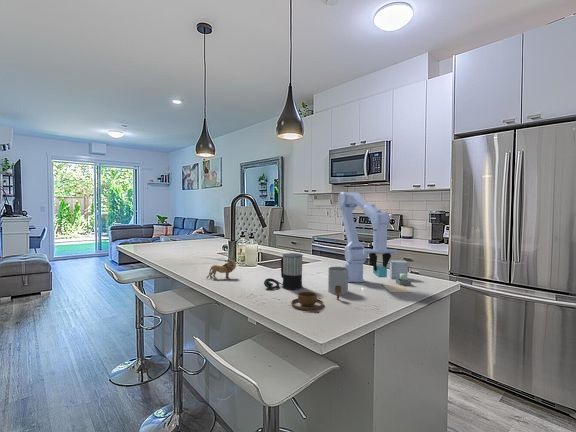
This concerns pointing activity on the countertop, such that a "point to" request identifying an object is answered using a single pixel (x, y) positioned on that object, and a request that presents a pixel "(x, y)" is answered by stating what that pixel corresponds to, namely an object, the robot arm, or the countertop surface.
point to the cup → (338, 279)
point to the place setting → (311, 300)
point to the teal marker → (380, 271)
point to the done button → (403, 277)
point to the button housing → (403, 282)
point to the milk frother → (289, 272)
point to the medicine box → (398, 269)
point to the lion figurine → (222, 269)
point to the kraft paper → (396, 288)
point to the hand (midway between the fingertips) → (379, 270)
